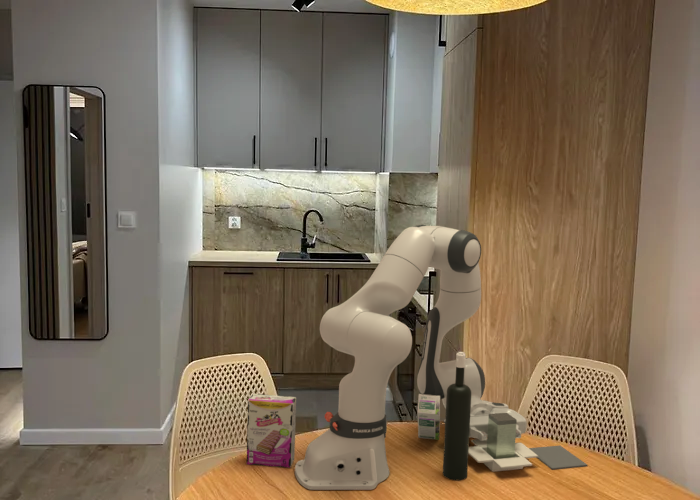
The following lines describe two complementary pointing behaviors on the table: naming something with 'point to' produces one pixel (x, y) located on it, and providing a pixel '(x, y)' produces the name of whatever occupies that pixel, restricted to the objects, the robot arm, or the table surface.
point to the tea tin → (501, 436)
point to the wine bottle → (457, 425)
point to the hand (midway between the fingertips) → (501, 436)
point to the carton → (506, 463)
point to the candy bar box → (271, 430)
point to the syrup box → (428, 416)
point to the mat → (557, 457)
